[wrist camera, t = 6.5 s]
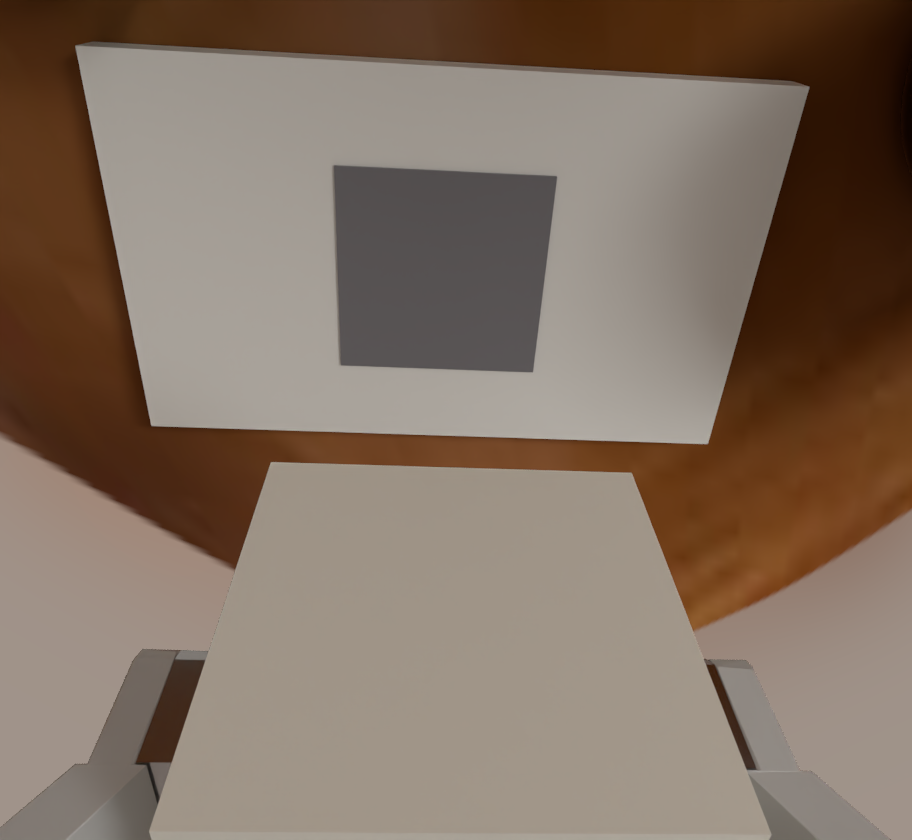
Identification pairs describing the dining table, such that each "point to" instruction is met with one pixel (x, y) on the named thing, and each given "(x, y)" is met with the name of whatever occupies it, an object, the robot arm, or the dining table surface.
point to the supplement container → (907, 118)
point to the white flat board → (434, 239)
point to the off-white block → (454, 670)
